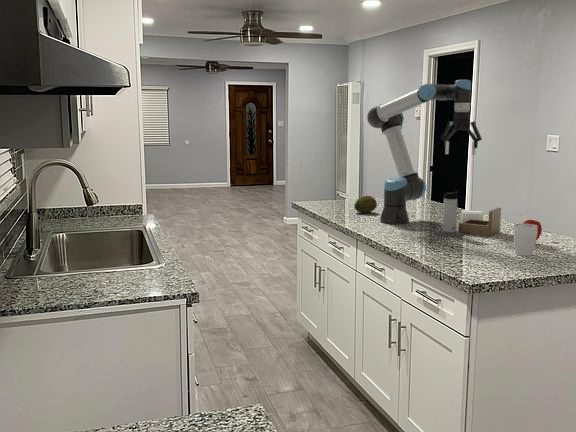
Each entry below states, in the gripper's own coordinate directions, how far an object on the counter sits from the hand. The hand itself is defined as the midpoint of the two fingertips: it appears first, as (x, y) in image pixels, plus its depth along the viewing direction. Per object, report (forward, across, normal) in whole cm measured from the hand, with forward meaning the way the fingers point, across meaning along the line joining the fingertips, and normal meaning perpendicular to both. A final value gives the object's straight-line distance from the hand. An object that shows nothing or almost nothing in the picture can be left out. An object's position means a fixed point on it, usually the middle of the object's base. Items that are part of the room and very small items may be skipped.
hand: (460, 154), depth 290 cm
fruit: (+37, -59, +11) cm, 71 cm away
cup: (+37, +44, -44) cm, 72 cm away
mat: (+37, +4, -21) cm, 42 cm away
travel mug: (+36, +4, -21) cm, 42 cm away
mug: (+37, +5, +7) cm, 38 cm away
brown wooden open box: (+37, +14, -10) cm, 41 cm away
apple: (+37, +41, -21) cm, 59 cm away
